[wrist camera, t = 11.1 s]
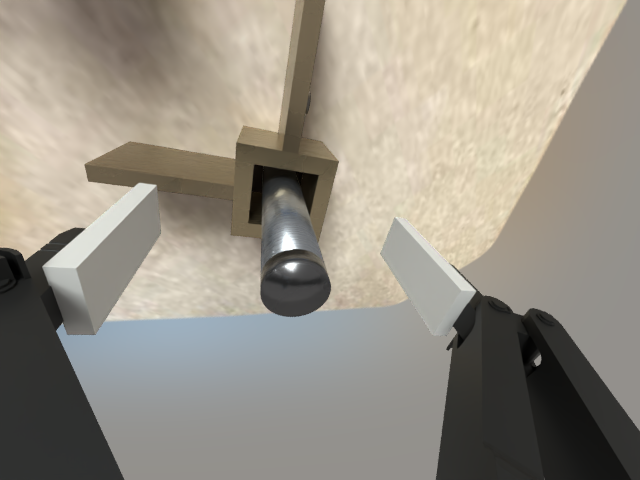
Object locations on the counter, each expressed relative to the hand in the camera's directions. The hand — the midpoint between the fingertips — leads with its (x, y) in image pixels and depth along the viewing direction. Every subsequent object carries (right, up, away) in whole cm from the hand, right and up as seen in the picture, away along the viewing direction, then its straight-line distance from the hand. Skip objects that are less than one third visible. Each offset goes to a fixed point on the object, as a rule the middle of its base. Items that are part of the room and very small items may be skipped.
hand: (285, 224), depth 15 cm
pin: (-2, +5, +8) cm, 10 cm away
